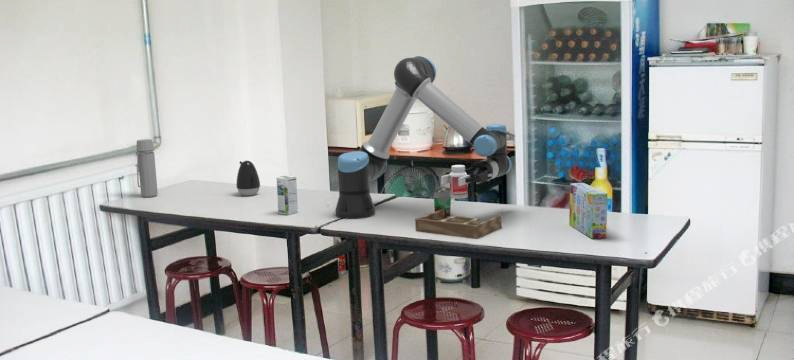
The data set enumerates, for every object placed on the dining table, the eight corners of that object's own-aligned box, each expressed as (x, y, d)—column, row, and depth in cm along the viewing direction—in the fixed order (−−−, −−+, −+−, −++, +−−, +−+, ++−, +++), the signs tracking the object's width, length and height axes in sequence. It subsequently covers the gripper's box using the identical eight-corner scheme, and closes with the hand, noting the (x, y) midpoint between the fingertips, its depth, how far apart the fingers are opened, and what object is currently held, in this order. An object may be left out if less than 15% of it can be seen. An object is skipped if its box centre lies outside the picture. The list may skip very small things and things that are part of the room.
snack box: (608, 238, 275) (608, 192, 273) (591, 239, 274) (591, 194, 272) (583, 224, 296) (583, 181, 293) (568, 225, 295) (568, 182, 292)
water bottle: (150, 194, 381) (145, 138, 377) (162, 195, 376) (157, 139, 372) (133, 197, 374) (128, 141, 369) (145, 199, 369) (139, 142, 365)
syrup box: (277, 213, 330) (275, 177, 328) (289, 211, 334) (287, 174, 332) (287, 215, 326) (284, 178, 324) (298, 212, 331) (296, 176, 328)
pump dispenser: (252, 191, 378) (249, 157, 375) (265, 194, 370) (263, 160, 368) (232, 195, 371) (229, 161, 368) (245, 198, 363) (242, 163, 361)
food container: (450, 219, 310) (450, 192, 308) (434, 219, 311) (433, 192, 309) (455, 212, 322) (454, 186, 320) (439, 212, 323) (438, 186, 321)
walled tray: (441, 220, 309) (441, 209, 308) (501, 227, 295) (501, 215, 294) (415, 230, 295) (415, 218, 294) (476, 238, 281) (476, 226, 280)
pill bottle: (471, 197, 292) (470, 165, 290) (457, 200, 289) (456, 167, 287) (460, 194, 297) (459, 163, 295) (446, 197, 294) (445, 165, 292)
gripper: (507, 182, 302) (475, 194, 283) (461, 178, 313) (427, 189, 294) (507, 161, 300) (475, 172, 282) (460, 158, 311) (426, 168, 293)
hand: (450, 181), depth 288 cm, fingers closed on pill bottle, 6 cm apart
